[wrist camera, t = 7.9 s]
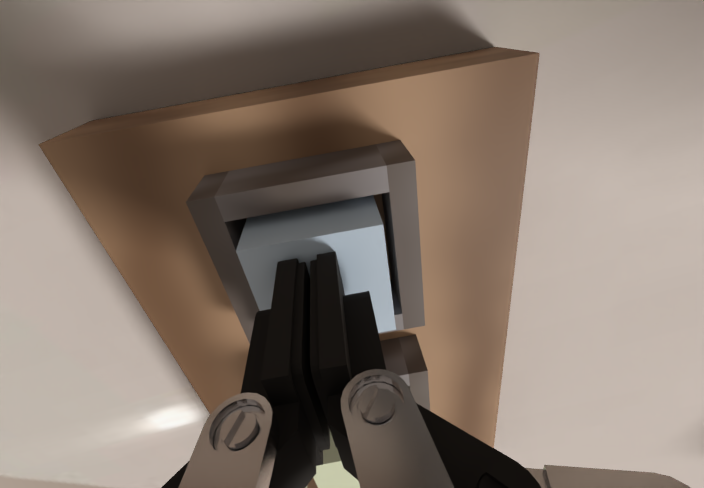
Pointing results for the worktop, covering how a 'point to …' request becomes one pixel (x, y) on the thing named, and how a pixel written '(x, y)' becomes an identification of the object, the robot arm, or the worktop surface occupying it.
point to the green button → (333, 471)
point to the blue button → (322, 250)
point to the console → (320, 188)
